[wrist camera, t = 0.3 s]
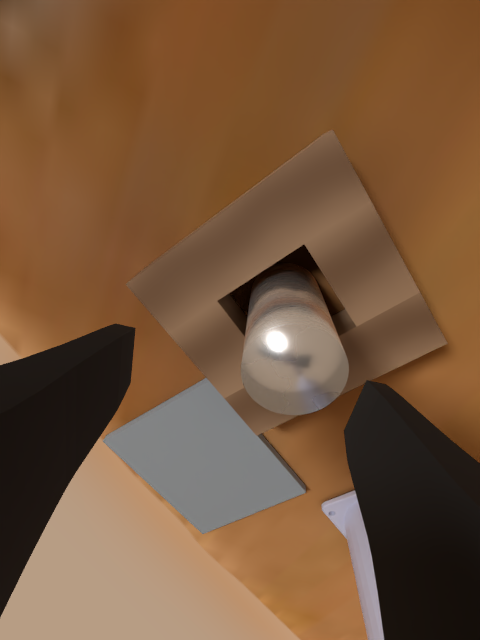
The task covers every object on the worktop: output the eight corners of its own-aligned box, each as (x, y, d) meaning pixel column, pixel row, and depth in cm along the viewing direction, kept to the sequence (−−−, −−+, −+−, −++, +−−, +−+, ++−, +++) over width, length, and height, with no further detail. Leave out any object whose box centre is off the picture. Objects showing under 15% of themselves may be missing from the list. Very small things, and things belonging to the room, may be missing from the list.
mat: (305, 485, 26) (306, 492, 26) (203, 527, 29) (202, 534, 29) (211, 375, 23) (209, 380, 22) (106, 435, 26) (102, 441, 25)
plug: (332, 305, 20) (368, 386, 13) (274, 338, 21) (278, 429, 14) (296, 249, 19) (313, 304, 12) (237, 287, 20) (219, 359, 13)
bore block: (427, 322, 20) (447, 343, 18) (257, 409, 24) (256, 435, 21) (323, 133, 16) (332, 129, 14) (141, 270, 20) (125, 284, 18)
